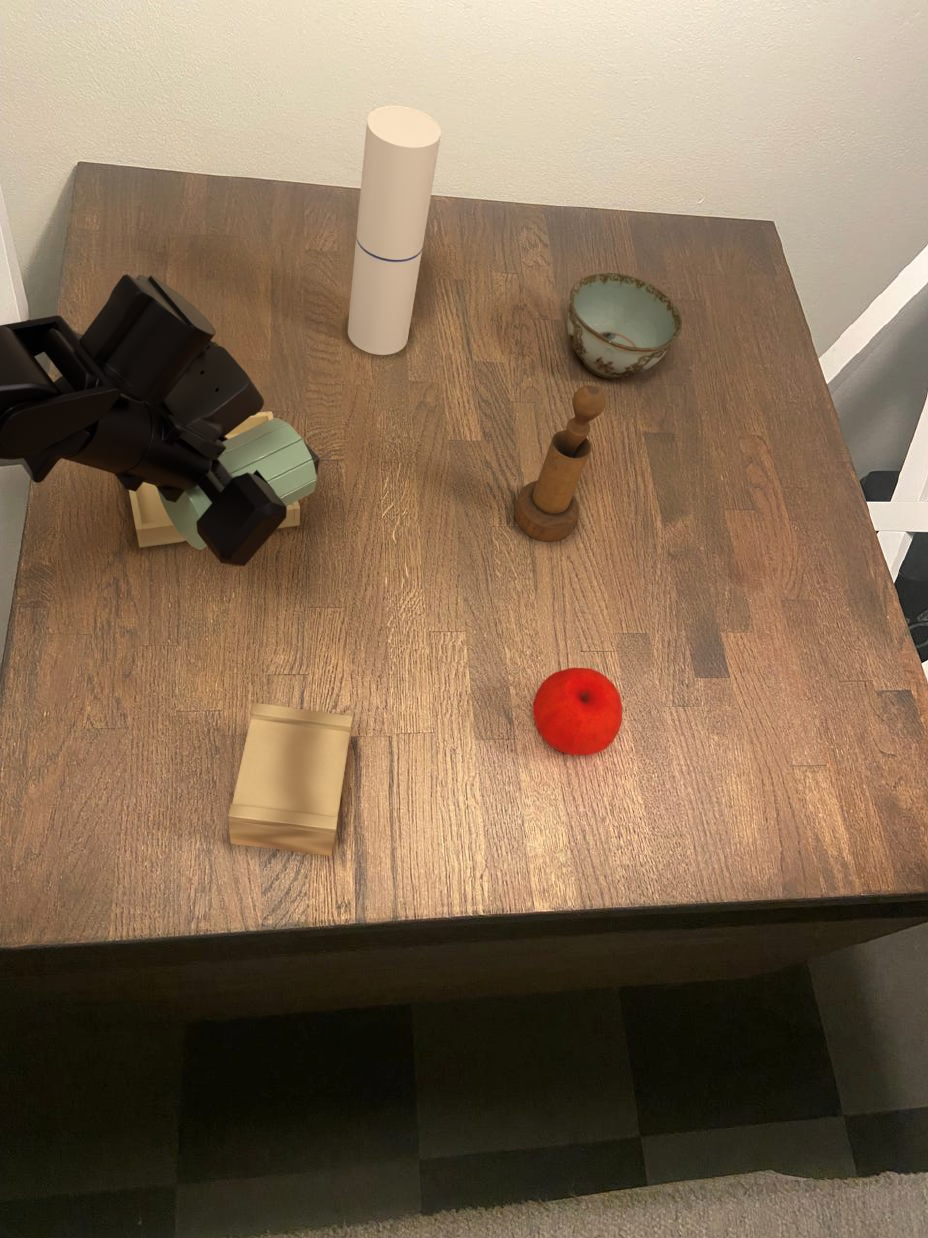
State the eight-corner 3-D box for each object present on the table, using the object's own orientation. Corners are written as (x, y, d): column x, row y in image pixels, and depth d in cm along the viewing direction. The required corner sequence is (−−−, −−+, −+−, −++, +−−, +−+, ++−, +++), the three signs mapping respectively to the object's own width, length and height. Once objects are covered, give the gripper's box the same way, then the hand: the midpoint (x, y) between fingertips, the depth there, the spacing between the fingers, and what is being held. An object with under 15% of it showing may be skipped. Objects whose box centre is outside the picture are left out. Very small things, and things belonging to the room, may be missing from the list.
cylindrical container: (352, 354, 106) (373, 145, 85) (343, 313, 109) (362, 102, 89) (412, 354, 107) (447, 149, 87) (402, 314, 111) (433, 108, 90)
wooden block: (230, 844, 72) (227, 816, 67) (253, 735, 78) (252, 701, 73) (331, 856, 73) (335, 829, 68) (347, 747, 79) (352, 715, 74)
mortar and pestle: (502, 503, 97) (544, 374, 82) (551, 486, 100) (601, 358, 85) (535, 549, 94) (585, 424, 80) (585, 531, 97) (642, 406, 82)
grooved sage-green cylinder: (205, 565, 76) (206, 517, 70) (157, 505, 78) (154, 454, 72) (311, 508, 81) (321, 459, 76) (264, 453, 83) (270, 401, 77)
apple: (569, 677, 87) (592, 636, 81) (626, 741, 84) (654, 703, 78) (506, 719, 83) (525, 679, 77) (563, 787, 80) (587, 751, 74)
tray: (139, 547, 86) (136, 529, 84) (120, 445, 92) (117, 425, 90) (299, 525, 91) (300, 508, 88) (271, 429, 97) (271, 410, 95)
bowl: (540, 377, 109) (558, 323, 103) (565, 312, 117) (583, 258, 110) (649, 415, 109) (673, 363, 102) (666, 347, 117) (690, 295, 110)
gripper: (264, 432, 59) (383, 483, 73) (122, 264, 65) (257, 341, 80) (162, 556, 62) (296, 582, 76) (35, 383, 68) (180, 437, 82)
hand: (258, 480), depth 78 cm, fingers closed on grooved sage-green cylinder, 7 cm apart
